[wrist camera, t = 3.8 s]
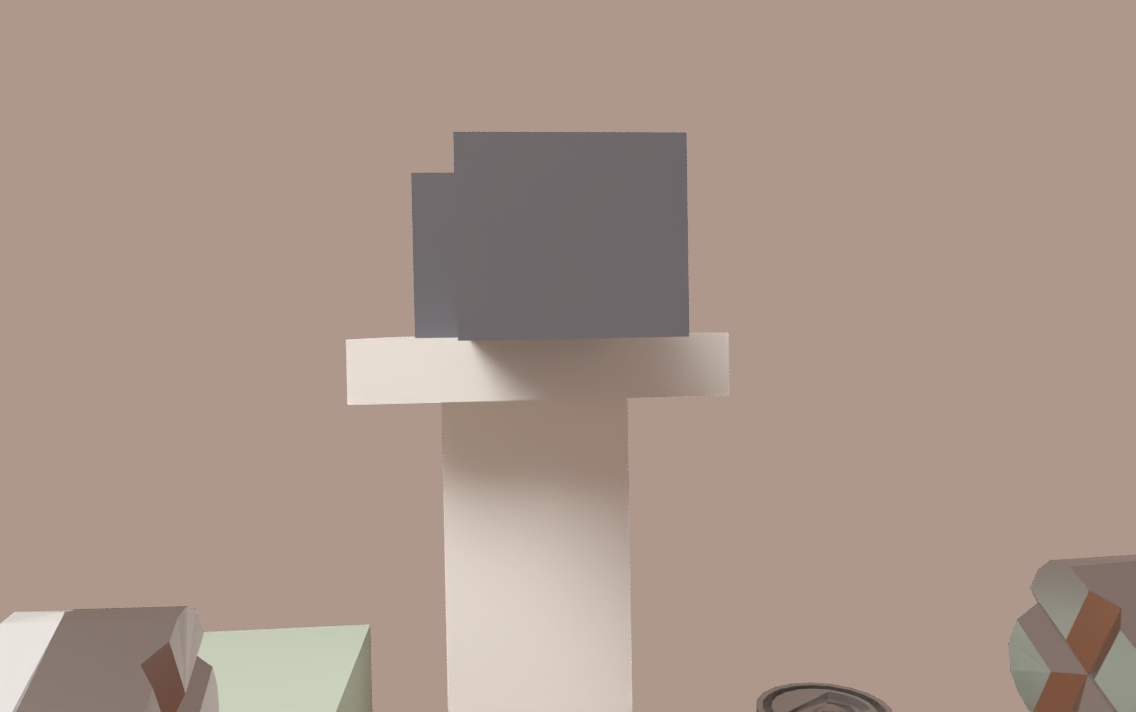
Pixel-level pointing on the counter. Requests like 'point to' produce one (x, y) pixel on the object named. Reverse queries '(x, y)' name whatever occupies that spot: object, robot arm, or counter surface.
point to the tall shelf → (536, 501)
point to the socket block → (291, 669)
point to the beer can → (818, 699)
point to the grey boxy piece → (553, 237)
